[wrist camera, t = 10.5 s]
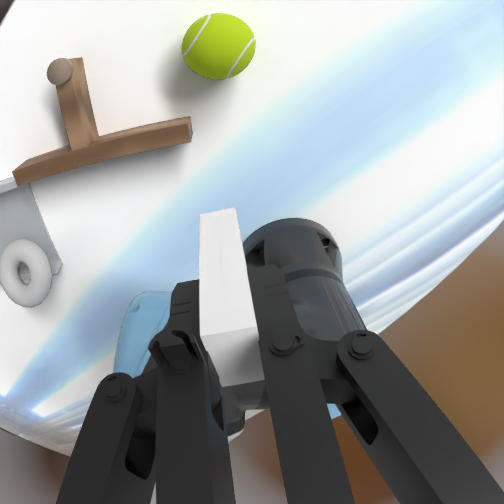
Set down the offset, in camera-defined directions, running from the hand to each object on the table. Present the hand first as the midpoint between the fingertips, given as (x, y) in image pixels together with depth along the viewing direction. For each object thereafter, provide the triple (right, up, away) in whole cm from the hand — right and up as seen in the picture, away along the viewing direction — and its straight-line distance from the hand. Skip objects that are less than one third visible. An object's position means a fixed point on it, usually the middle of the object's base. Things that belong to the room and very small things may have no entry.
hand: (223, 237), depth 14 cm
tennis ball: (-2, +21, +15) cm, 26 cm away
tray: (-35, +3, +23) cm, 42 cm away
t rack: (-17, +16, +16) cm, 28 cm away
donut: (-29, +1, +22) cm, 37 cm away
